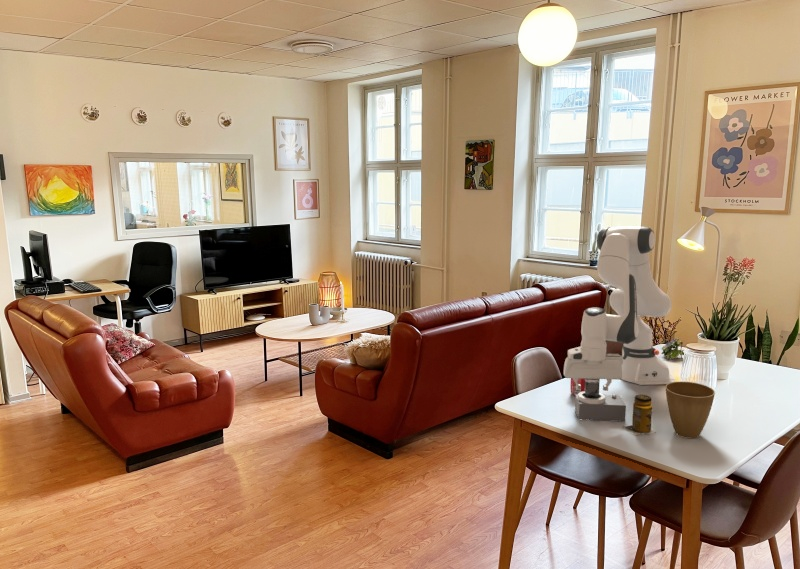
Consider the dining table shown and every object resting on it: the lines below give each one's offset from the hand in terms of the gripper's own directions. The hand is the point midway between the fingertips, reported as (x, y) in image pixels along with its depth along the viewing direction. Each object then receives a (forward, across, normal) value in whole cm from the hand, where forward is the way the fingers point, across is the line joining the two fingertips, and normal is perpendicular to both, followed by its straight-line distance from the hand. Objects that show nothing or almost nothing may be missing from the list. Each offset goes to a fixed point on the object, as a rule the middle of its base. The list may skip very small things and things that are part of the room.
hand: (591, 389), depth 219 cm
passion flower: (+10, -51, -79) cm, 95 cm away
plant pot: (+10, -29, +14) cm, 34 cm away
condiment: (+10, -14, +12) cm, 21 cm away
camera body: (+10, -3, 0) cm, 10 cm away
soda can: (+10, +1, -22) cm, 24 cm away
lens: (+4, 0, 0) cm, 4 cm away
